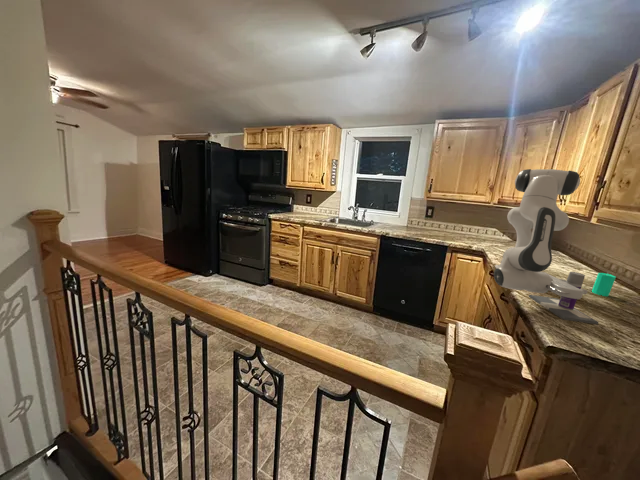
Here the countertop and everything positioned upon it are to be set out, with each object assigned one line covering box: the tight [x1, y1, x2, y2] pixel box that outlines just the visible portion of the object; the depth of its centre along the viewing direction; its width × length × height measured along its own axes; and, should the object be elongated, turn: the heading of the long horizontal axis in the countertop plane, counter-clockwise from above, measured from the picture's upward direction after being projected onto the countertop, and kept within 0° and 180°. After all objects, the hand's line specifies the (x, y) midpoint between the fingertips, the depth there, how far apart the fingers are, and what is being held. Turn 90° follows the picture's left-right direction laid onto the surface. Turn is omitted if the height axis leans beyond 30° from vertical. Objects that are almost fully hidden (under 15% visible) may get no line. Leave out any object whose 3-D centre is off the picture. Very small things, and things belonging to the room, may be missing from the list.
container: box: [558, 271, 586, 310], centre depth 103 cm, size 5×5×15 cm
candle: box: [591, 272, 617, 297], centre depth 127 cm, size 6×6×12 cm
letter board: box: [528, 294, 599, 325], centre depth 105 cm, size 20×12×1 cm, turn 172°
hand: (575, 286), depth 103 cm, fingers open, 8 cm apart
